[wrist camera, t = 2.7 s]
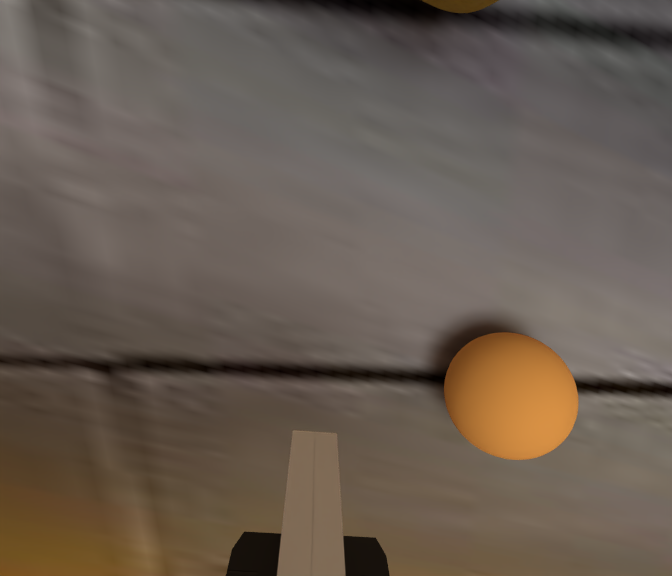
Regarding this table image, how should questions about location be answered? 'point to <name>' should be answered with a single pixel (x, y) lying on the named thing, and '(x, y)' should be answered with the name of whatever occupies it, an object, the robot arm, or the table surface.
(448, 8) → the flower pot
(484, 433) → the ball
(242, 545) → the robot arm
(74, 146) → the table surface
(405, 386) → the table surface
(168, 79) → the table surface
